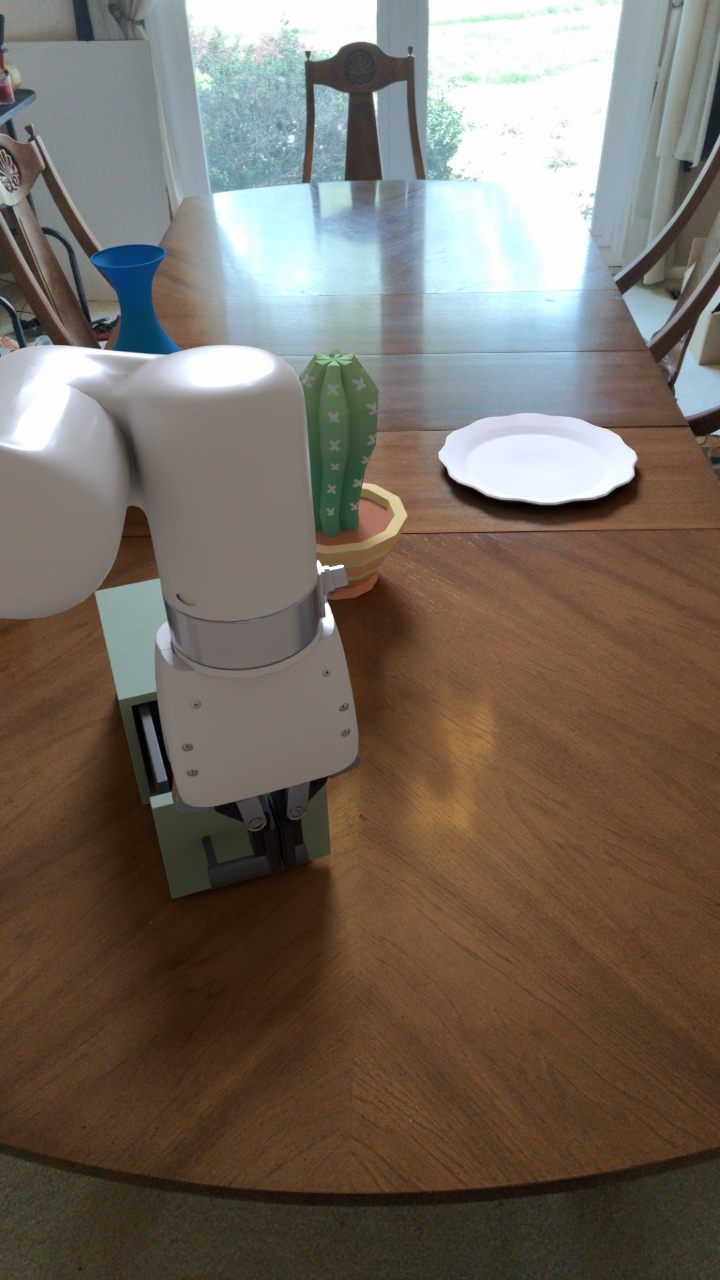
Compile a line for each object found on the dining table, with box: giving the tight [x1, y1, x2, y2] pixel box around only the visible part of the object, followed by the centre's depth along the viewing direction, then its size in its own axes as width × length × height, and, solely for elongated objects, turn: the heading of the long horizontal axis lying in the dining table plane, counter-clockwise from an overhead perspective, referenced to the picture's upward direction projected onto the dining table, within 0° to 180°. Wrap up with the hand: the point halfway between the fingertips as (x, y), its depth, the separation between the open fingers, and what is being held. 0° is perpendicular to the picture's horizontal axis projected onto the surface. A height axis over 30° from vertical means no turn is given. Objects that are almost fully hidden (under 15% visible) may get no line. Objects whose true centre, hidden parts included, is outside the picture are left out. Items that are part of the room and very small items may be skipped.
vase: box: [89, 243, 183, 355], centre depth 120 cm, size 12×13×28 cm
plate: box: [438, 412, 639, 507], centre depth 127 cm, size 25×25×2 cm
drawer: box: [137, 700, 332, 900], centre depth 76 cm, size 19×12×10 cm, turn 19°
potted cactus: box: [298, 349, 409, 601], centre depth 101 cm, size 15×16×25 cm
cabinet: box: [93, 577, 167, 806], centre depth 86 cm, size 16×14×12 cm
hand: (277, 853), depth 59 cm, fingers closed
